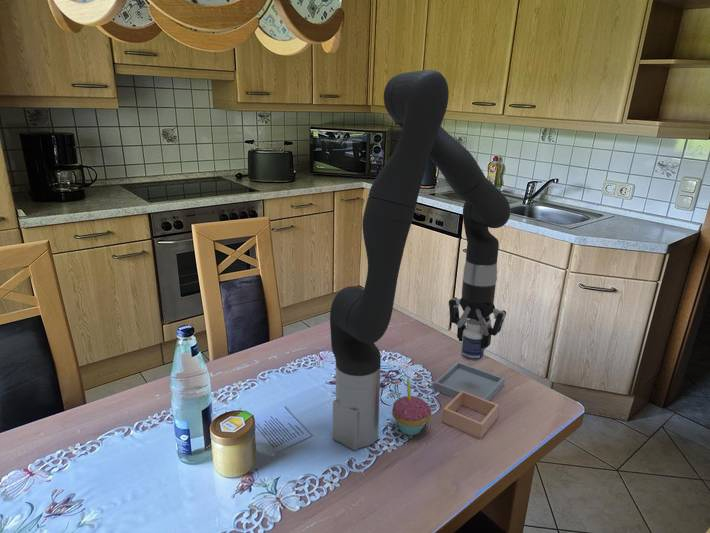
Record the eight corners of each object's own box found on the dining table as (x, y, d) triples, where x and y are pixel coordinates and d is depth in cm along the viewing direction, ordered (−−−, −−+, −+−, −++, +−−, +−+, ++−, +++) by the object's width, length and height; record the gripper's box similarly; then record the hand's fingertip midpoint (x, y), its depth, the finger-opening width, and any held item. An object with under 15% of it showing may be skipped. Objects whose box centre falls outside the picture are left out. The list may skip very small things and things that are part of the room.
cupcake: (384, 422, 108) (385, 376, 104) (415, 412, 112) (418, 367, 108) (405, 445, 101) (407, 396, 97) (438, 434, 105) (441, 386, 101)
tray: (482, 409, 113) (483, 401, 113) (433, 389, 121) (434, 382, 120) (503, 385, 123) (504, 378, 122) (457, 368, 131) (457, 361, 130)
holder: (480, 438, 103) (482, 425, 102) (442, 421, 109) (443, 408, 108) (497, 418, 110) (499, 404, 109) (460, 402, 116) (461, 390, 115)
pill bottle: (485, 363, 117) (489, 327, 114) (463, 363, 117) (466, 326, 114) (480, 352, 122) (483, 317, 119) (458, 352, 122) (461, 317, 119)
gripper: (444, 276, 114) (439, 340, 119) (503, 291, 105) (495, 359, 111) (458, 268, 119) (453, 330, 125) (515, 281, 111) (507, 346, 117)
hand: (473, 343), depth 118 cm, fingers closed on pill bottle, 5 cm apart
